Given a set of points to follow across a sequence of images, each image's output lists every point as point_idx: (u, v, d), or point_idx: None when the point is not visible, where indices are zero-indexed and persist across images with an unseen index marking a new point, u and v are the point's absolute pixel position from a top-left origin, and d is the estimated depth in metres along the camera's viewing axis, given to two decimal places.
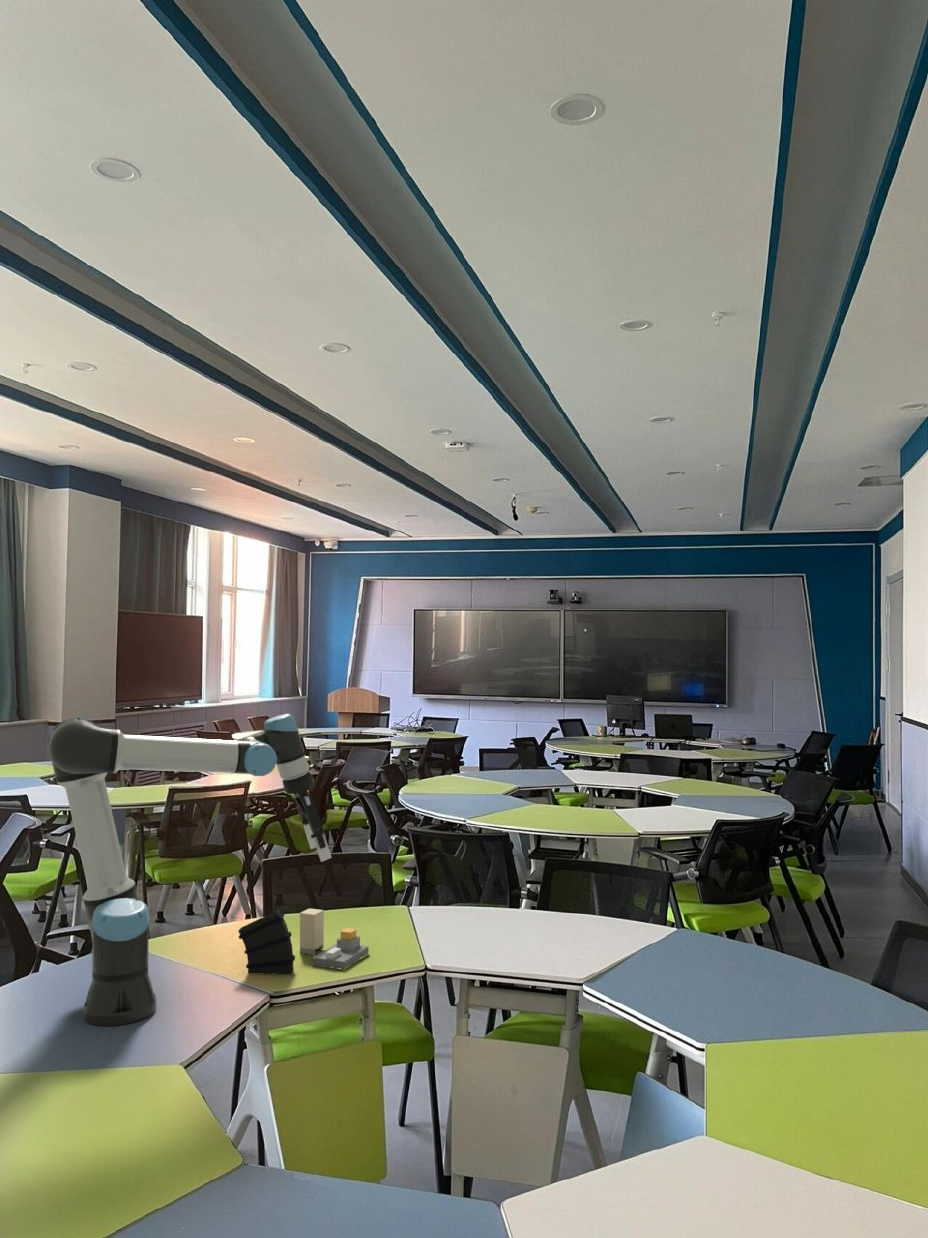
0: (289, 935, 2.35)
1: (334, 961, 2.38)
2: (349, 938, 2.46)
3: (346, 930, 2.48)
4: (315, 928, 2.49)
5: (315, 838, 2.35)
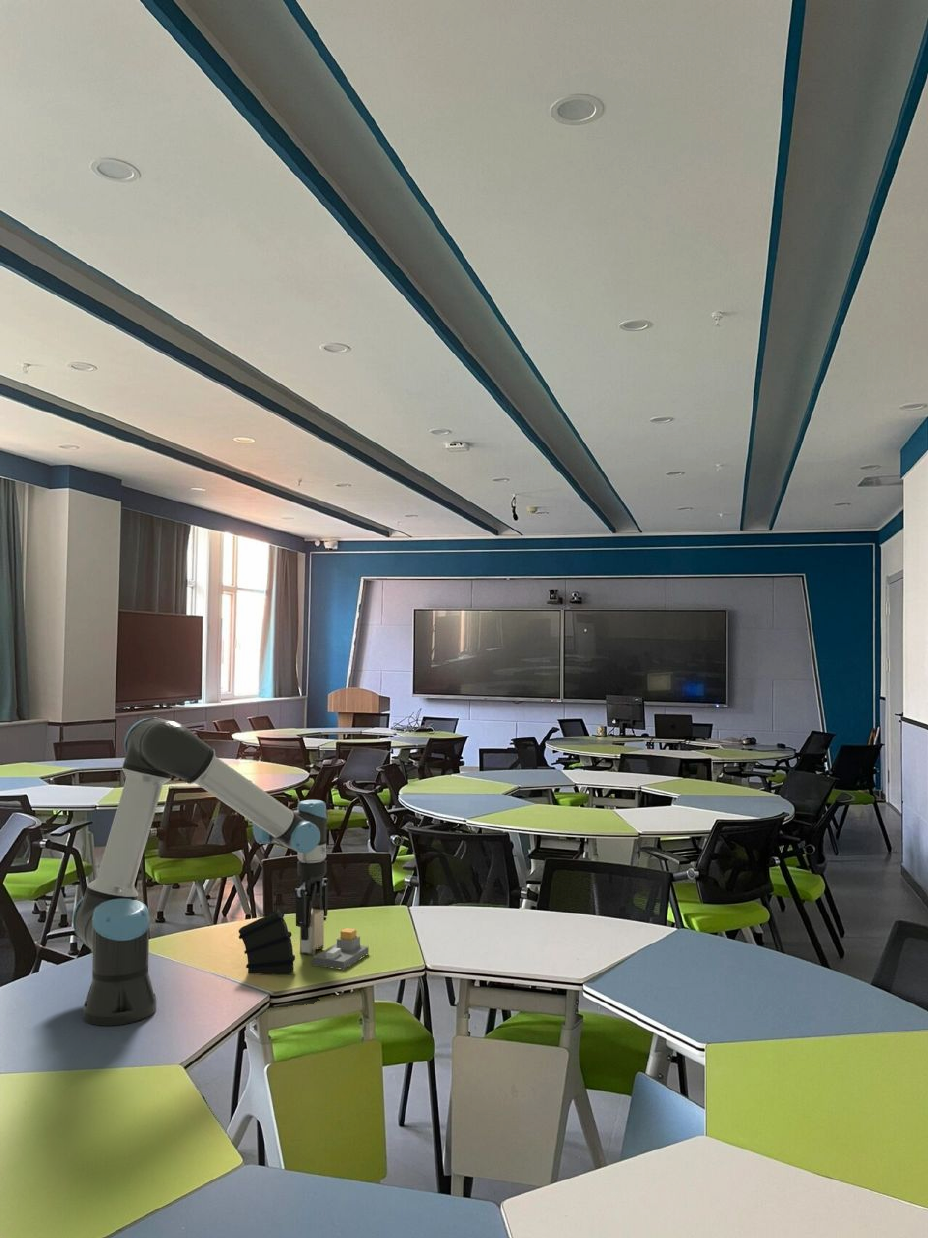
0: (289, 935, 2.35)
1: (334, 961, 2.38)
2: (349, 938, 2.46)
3: (346, 930, 2.48)
4: (315, 928, 2.49)
5: None
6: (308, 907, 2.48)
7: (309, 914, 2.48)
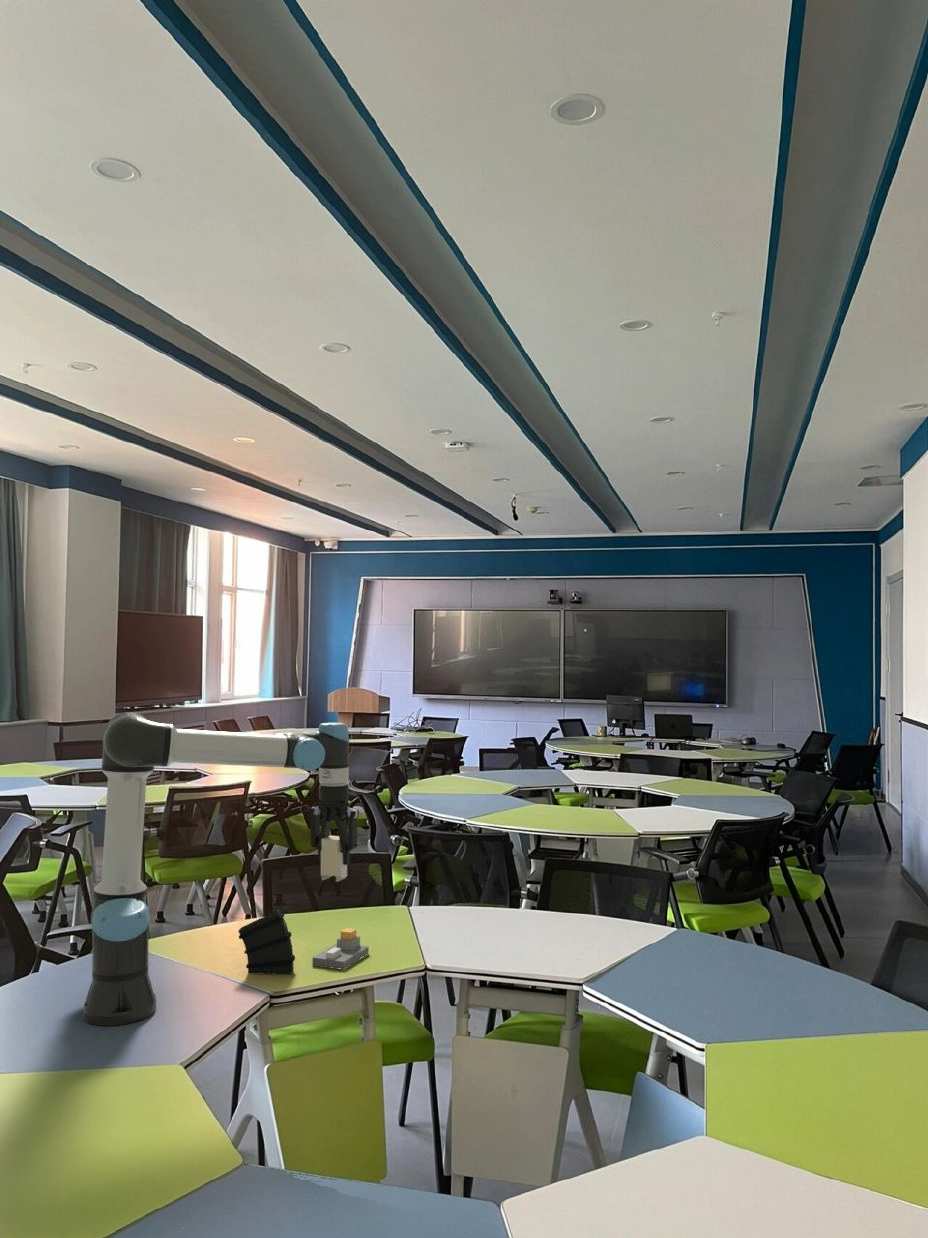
0: (289, 935, 2.35)
1: (334, 961, 2.38)
2: (349, 938, 2.46)
3: (346, 930, 2.48)
4: (323, 853, 2.40)
5: None
6: None
7: (320, 837, 2.42)
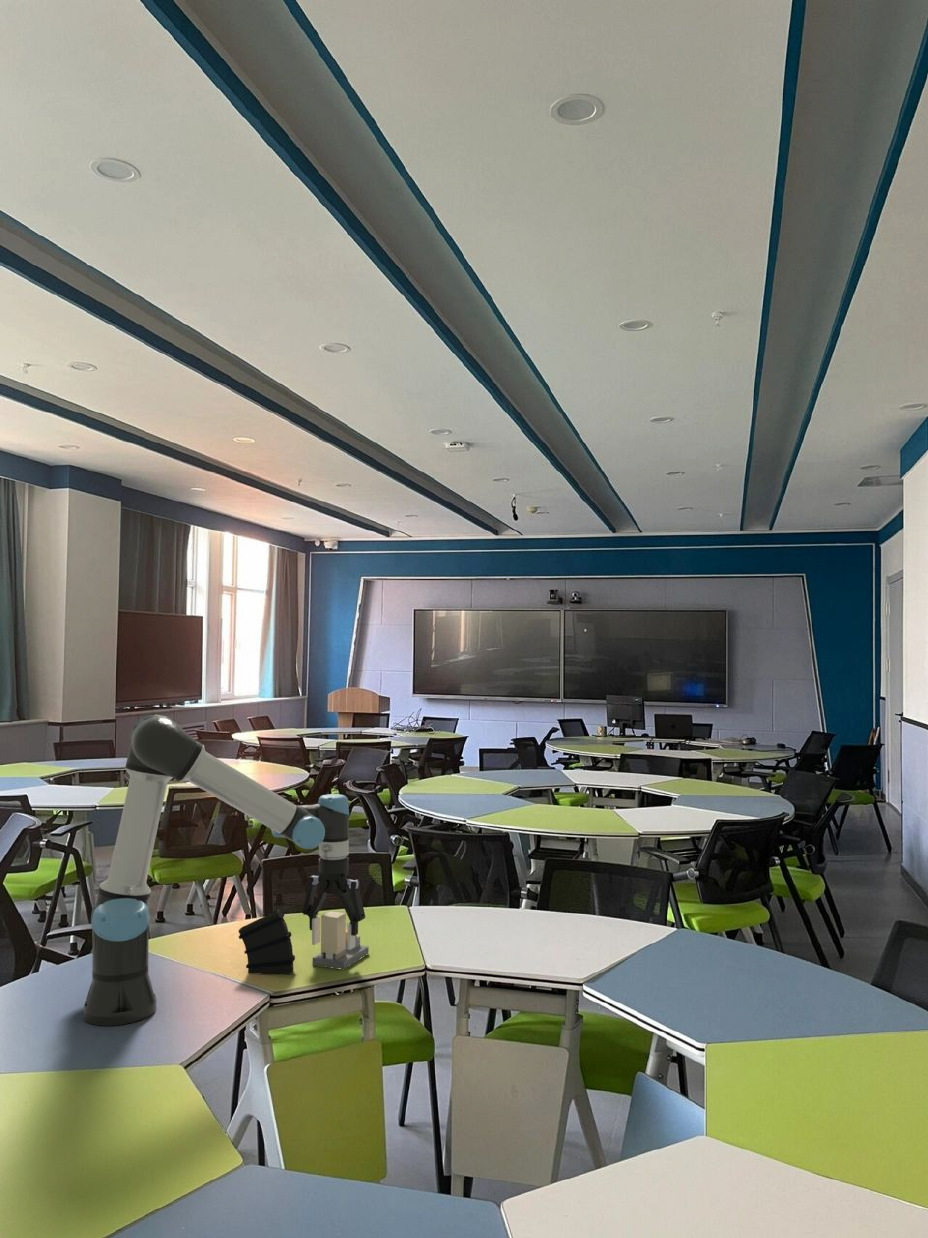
0: (289, 935, 2.35)
1: (334, 961, 2.38)
2: None
3: (346, 930, 2.48)
4: (323, 930, 2.40)
5: None
6: None
7: (314, 906, 2.42)
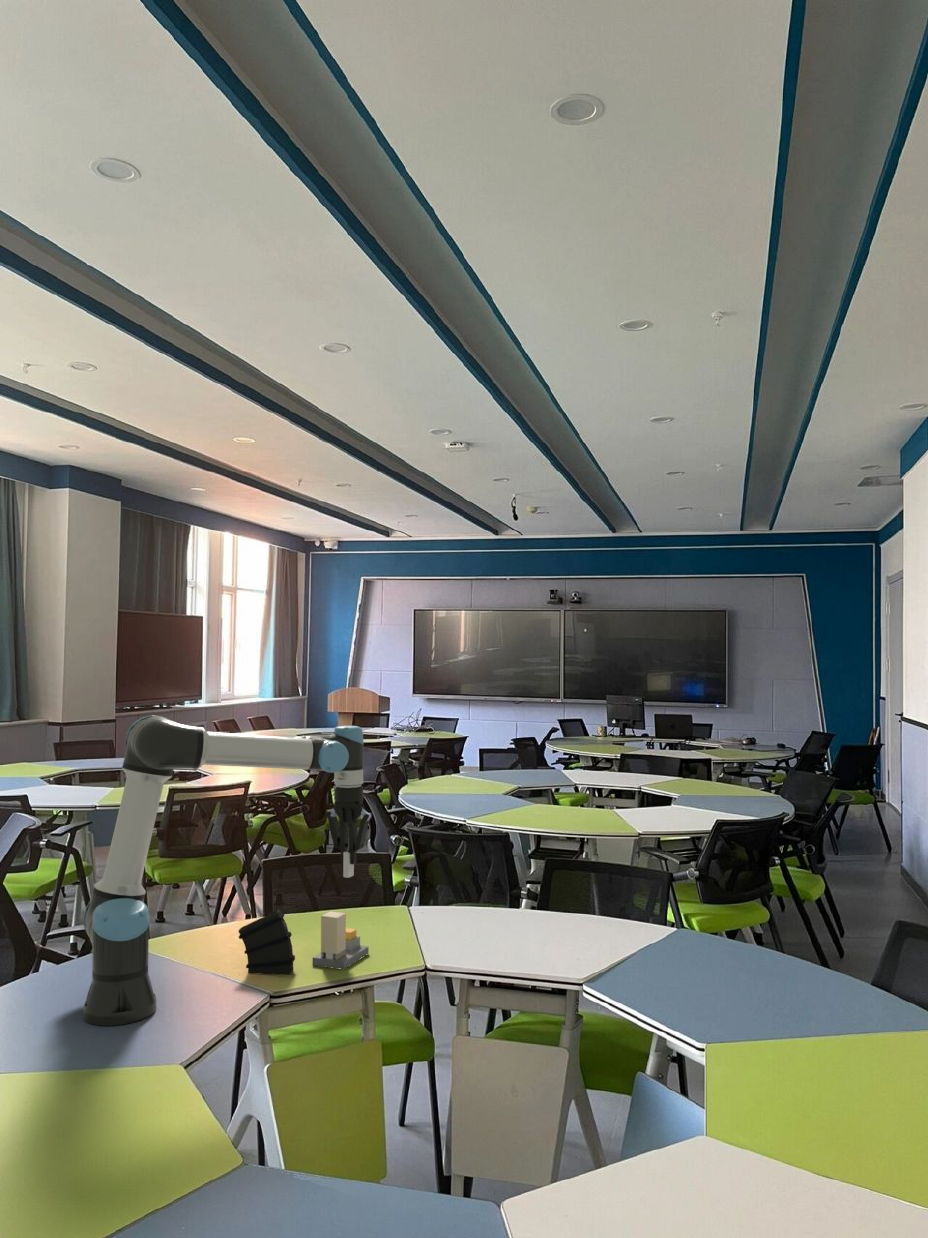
0: (289, 935, 2.35)
1: (334, 961, 2.38)
2: (349, 938, 2.46)
3: (346, 930, 2.48)
4: (323, 930, 2.40)
5: None
6: None
7: (341, 838, 2.48)
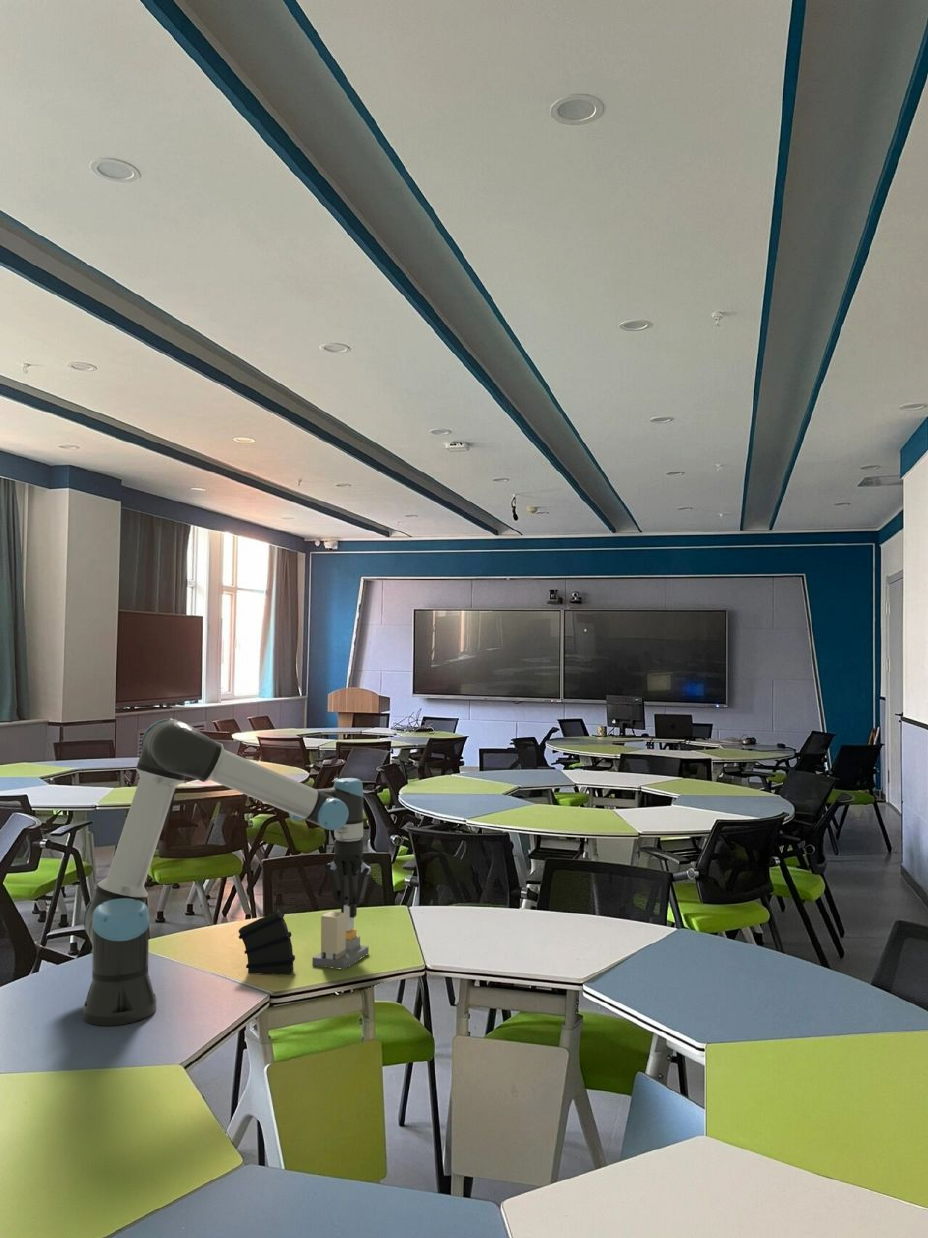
0: (289, 935, 2.35)
1: (334, 961, 2.38)
2: (349, 938, 2.46)
3: None
4: (323, 930, 2.40)
5: None
6: None
7: (341, 891, 2.48)
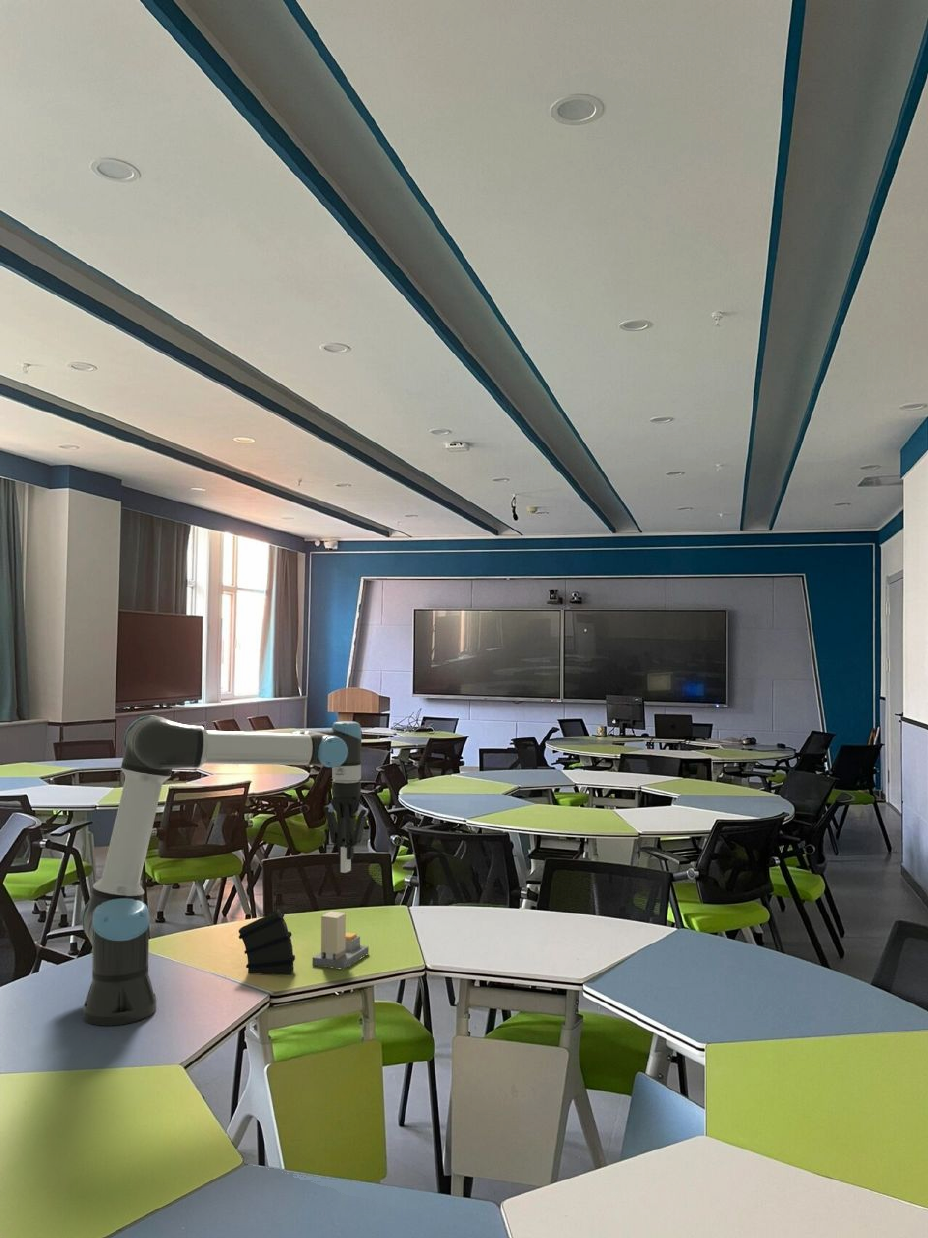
0: (289, 935, 2.35)
1: (334, 961, 2.38)
2: None
3: (346, 934, 2.48)
4: (323, 930, 2.40)
5: None
6: None
7: (338, 833, 2.49)
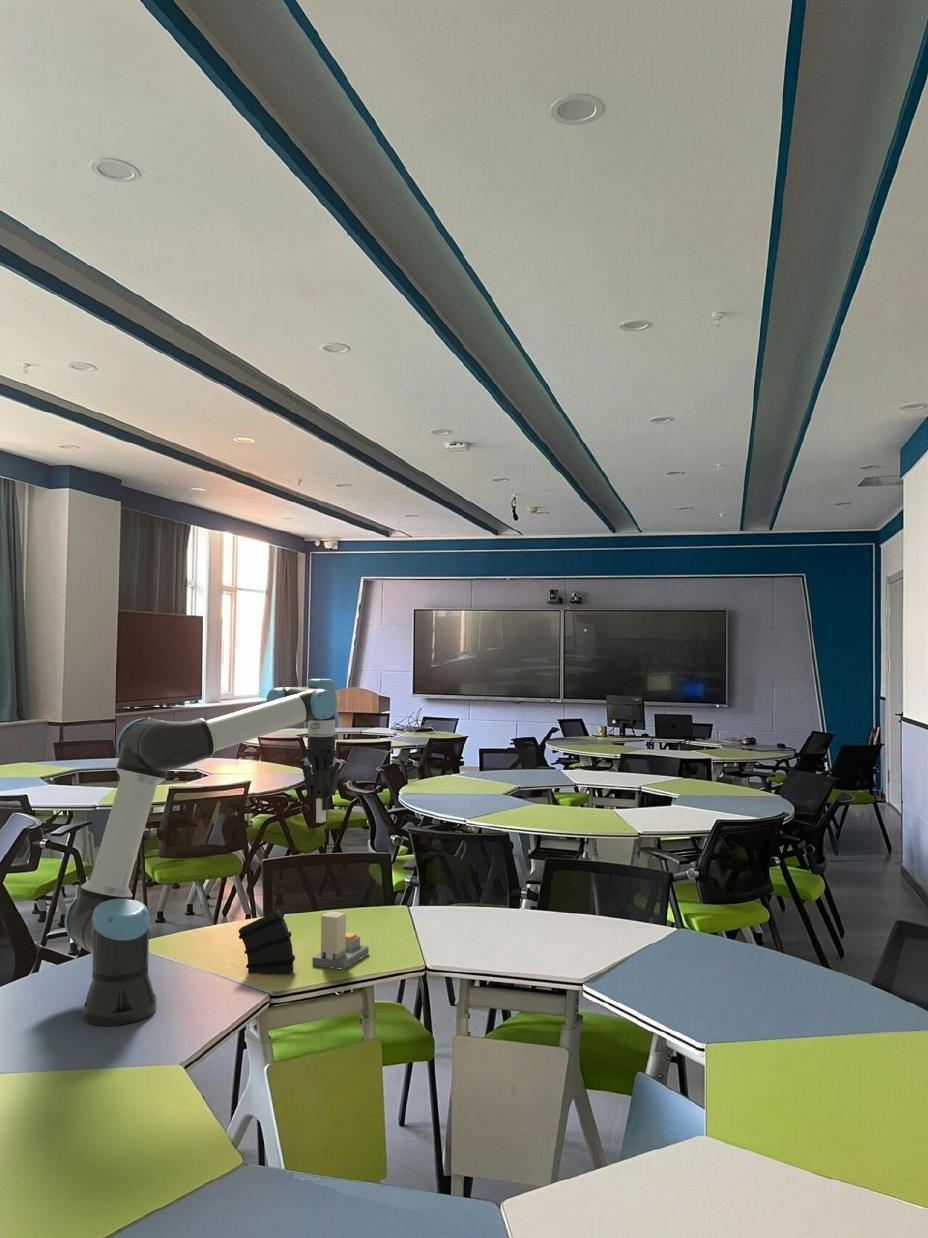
0: (289, 935, 2.35)
1: (334, 961, 2.38)
2: None
3: (346, 934, 2.48)
4: (323, 930, 2.40)
5: None
6: None
7: (314, 785, 2.60)
